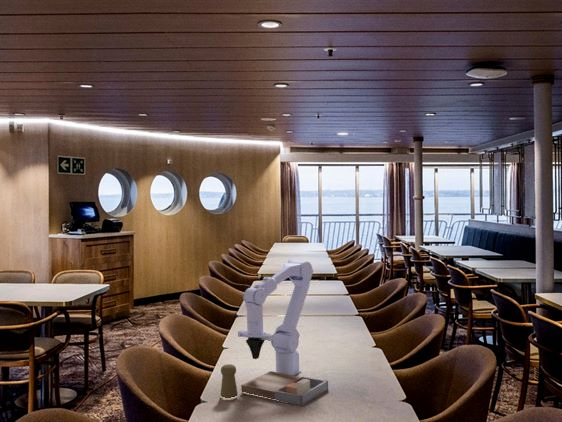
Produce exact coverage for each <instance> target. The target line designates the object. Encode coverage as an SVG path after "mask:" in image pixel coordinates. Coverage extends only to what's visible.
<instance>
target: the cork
mask: <svg viewBox="0 0 562 422" xmlns="http://www.w3.org/2000/svg"><path fill="white" fill-rule="evenodd" d="M220 373H221V375H222V378H221V379H222V380H221V387H220V388H221V389H220V395H221V396H222V397H225V398H231V397H235V396H237V395H238V389H237V381H236V373H237V367H236V366H235V365H234V364H228V363H227V364H223V365H222V366H221V368H220ZM238 396H239V395H238Z"/></svg>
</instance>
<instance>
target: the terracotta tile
mask: <svg viewBox="0 0 562 422" xmlns="http://www.w3.org/2000/svg"><path fill="white" fill-rule="evenodd" d="M286 392H287V393H292V394H297V383H293V382H292V383H291V384H289V385H287V386H286Z"/></svg>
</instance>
